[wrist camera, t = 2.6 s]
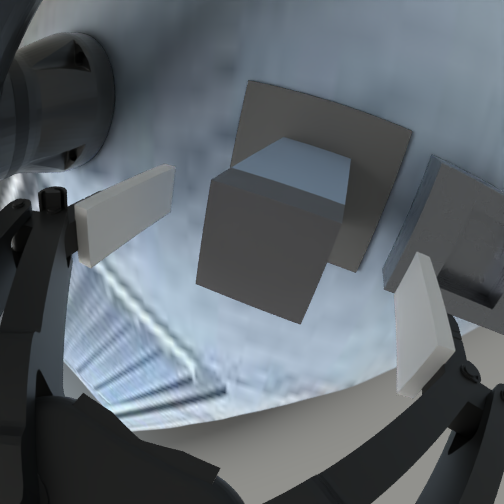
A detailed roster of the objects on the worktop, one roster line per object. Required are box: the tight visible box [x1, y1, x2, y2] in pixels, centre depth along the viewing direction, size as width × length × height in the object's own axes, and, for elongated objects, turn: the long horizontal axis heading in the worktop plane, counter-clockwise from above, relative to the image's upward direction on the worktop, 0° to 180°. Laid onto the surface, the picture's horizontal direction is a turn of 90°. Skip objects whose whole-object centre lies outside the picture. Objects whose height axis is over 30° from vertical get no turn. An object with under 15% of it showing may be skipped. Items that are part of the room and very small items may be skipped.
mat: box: [230, 80, 412, 273], centre depth 23 cm, size 12×12×1 cm
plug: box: [196, 137, 351, 324], centre depth 17 cm, size 5×5×12 cm
